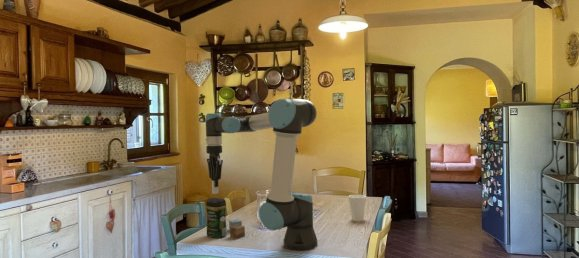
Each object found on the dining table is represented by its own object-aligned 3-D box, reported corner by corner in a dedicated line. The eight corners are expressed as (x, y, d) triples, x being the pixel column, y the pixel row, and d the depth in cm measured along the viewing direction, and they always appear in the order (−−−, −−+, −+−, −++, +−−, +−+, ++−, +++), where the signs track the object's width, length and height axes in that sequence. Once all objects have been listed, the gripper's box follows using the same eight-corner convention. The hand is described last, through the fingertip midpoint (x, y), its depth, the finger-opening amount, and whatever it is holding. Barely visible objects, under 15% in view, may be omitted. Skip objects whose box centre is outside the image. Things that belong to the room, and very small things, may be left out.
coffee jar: (203, 236, 194) (202, 198, 193) (215, 232, 200) (214, 195, 200) (218, 239, 188) (217, 200, 188) (229, 235, 195) (228, 197, 194)
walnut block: (244, 236, 192) (244, 226, 192) (237, 239, 188) (237, 228, 188) (237, 234, 195) (237, 224, 195) (230, 237, 192) (229, 227, 191)
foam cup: (369, 219, 219) (369, 195, 218) (360, 222, 212) (359, 198, 212) (355, 216, 225) (354, 194, 225) (345, 220, 218) (345, 196, 218)
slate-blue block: (241, 230, 203) (241, 221, 203) (232, 232, 200) (232, 222, 200) (238, 228, 207) (238, 219, 207) (229, 229, 205) (229, 220, 205)
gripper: (201, 145, 196) (202, 192, 197) (213, 146, 186) (214, 196, 186) (215, 144, 201) (216, 190, 201) (227, 145, 190) (228, 194, 191)
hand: (215, 193), depth 194 cm, fingers closed
